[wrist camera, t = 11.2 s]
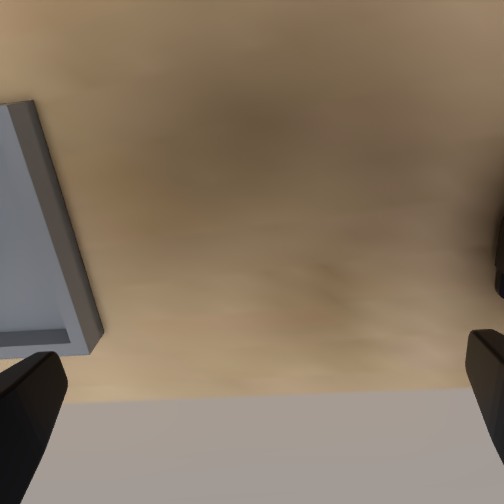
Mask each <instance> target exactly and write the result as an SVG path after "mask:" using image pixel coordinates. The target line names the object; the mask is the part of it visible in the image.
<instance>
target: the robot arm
mask: <svg viewBox="0 0 504 504" xmlns="http://www.w3.org/2000/svg"><path fill="white" fill-rule="evenodd" d="M495 266H496V267H497V268H498V272H497V279H496V286H495V289H496V292H497V293H498V294H499V295H500V297H502V298H503V299H504V217H503V218H502V219H501V225H500V232H499V239H498V246H497V254H496V261H495ZM465 367H466V372H467V375H468V378H469V381H470V383H471V386H472V389H473V391H474V394H475V397H476V399H477V402H478V405H479V407H480V410H481V413H482V416H483V418H484V421H485V424H486V426H487V429H488V432H489V434H490V437H491V439H492V442H493V444H494V446H495V448H496V450H497V452H498V454H499V456H500V458H501V460H502V462H503V464H504V335H503V334H501V333H499V332H497V331H495V330H493V329H481V330H472V331H471V332H470V334H469V337H468V344H467V352H466V360H465ZM67 387H68V380H67V376H66V374H65V371H64V368H63V366H62V363H61V360H60V358H59V355H58V354H57V353H56V352H54V351H42V352H36V353H34V354H32V355H31V356H29V357H27V358H25V359H24V360H22V361H20V362H18V363H17V364H15V365H13V366H11V367H10V368H8V369H6V370H5V371H3V372H1V373H0V504H20V503H21V501H22V499H23V497H24V495H25V493H26V490H27V488H28V486H29V484H30V482H31V480H32V478H33V476H34V473H35V471H36V469H37V467H38V465H39V463H40V461H41V459H42V456H43V454H44V452H45V449H46V447H47V444H48V441H49V439H50V436H51V433H52V430H53V428H54V425H55V422H56V419H57V416H58V414H59V411H60V408H61V405H62V402H63V400H64V397H65V394H66V391H67Z"/></svg>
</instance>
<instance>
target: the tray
mask: <svg viewBox="0 0 504 504" xmlns="http://www.w3.org/2000/svg"><path fill="white" fill-rule="evenodd" d="M103 334H104V330H103V327H102V324H101V320H100V317H99V314H98V311H97V307H96V304H95V301H94V298H93V294H92V291H91V288H90V285H89V281H88V278H87V275H86V272H85V268H84V265H83V262H82V259H81V255H80V252H79V249H78V246H77V242H76V239H75V236H74V233H73V229H72V226H71V223H70V220H69V216H68V213H67V210H66V206H65V203H64V200H63V197H62V193H61V190H60V187H59V184H58V180H57V177H56V174H55V171H54V167H53V164H52V161H51V158H50V154H49V151H48V148H47V145H46V141H45V138H44V135H43V132H42V128H41V125H40V122H39V119H38V115H37V112H36V109H35V106H34V102H33V100H31V101H22V102H14V103H5V104H0V359H17V358H27V357H29V356H31V355H32V354H34V353H36V352H42V351H54V352H56V353H57V354H58V355H59V356H78V355H90V354H91V352H92V351H93V349H94V348H95V346H96V344H97V343H98V341H99V340H100V338H101V337H102V335H103Z"/></svg>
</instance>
